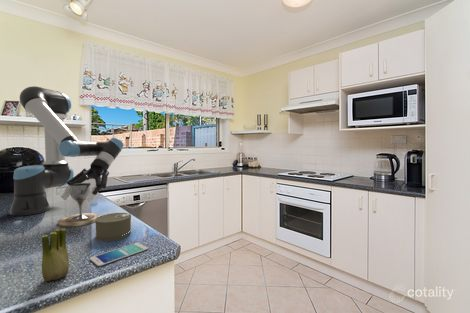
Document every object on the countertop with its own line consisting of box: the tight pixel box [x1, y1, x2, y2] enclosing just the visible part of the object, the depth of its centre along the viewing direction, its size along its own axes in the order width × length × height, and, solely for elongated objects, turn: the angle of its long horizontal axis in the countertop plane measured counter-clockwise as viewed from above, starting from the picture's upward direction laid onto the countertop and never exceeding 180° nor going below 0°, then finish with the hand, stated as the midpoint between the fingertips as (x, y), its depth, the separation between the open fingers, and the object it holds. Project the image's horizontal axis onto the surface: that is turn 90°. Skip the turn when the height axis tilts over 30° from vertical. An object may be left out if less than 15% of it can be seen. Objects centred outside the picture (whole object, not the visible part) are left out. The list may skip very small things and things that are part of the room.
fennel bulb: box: [41, 228, 70, 282], centre depth 58 cm, size 6×5×12 cm
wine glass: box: [69, 182, 92, 220], centre depth 104 cm, size 8×8×15 cm
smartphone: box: [89, 242, 149, 268], centre depth 71 cm, size 8×1×15 cm
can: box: [94, 212, 132, 242], centre depth 87 cm, size 12×12×7 cm
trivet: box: [57, 212, 99, 228], centre depth 104 cm, size 16×16×1 cm
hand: (75, 199), depth 101 cm, fingers open, 13 cm apart
